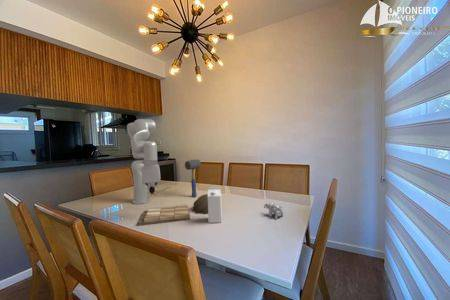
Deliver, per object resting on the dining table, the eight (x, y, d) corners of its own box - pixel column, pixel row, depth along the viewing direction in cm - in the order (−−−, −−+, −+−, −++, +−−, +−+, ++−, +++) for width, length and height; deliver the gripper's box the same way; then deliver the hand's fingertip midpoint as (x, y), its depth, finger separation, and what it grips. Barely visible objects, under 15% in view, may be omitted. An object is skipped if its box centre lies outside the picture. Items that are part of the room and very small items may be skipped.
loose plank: (149, 210, 133) (149, 208, 133) (161, 209, 135) (161, 207, 135) (146, 217, 121) (146, 215, 121) (159, 216, 123) (159, 213, 122)
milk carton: (209, 218, 122) (208, 186, 121) (221, 217, 122) (220, 185, 121) (208, 223, 115) (207, 189, 114) (221, 222, 115) (220, 188, 113)
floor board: (144, 213, 133) (143, 208, 133) (188, 208, 140) (188, 204, 139) (138, 225, 114) (138, 220, 114) (190, 219, 120) (189, 214, 120)
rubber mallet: (191, 199, 160) (190, 160, 158) (185, 198, 164) (183, 160, 163) (202, 195, 170) (201, 159, 168) (196, 194, 174) (195, 158, 173)
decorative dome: (202, 203, 151) (201, 189, 150) (226, 206, 142) (226, 192, 142) (186, 212, 133) (185, 196, 133) (213, 216, 125) (212, 200, 124)
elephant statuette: (280, 221, 116) (281, 207, 115) (259, 216, 121) (260, 203, 121) (284, 215, 124) (284, 202, 123) (264, 211, 129) (265, 199, 129)
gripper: (136, 164, 117) (137, 196, 119) (163, 163, 120) (164, 194, 122) (138, 162, 124) (140, 192, 126) (164, 161, 128) (165, 190, 129)
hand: (152, 193), depth 124 cm, fingers closed
